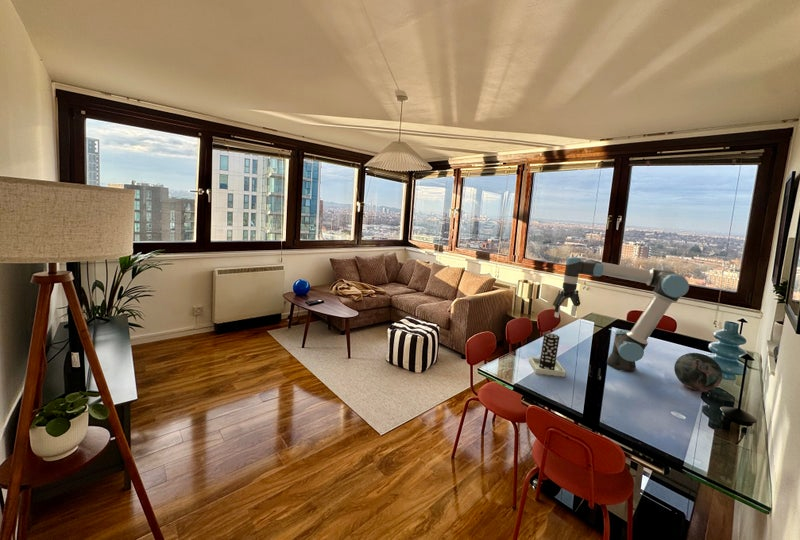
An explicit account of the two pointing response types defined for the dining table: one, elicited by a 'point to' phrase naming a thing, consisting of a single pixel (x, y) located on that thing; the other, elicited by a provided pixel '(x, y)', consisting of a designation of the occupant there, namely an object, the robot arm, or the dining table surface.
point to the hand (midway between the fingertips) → (564, 316)
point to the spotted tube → (549, 351)
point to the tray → (556, 372)
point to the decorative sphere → (698, 371)
